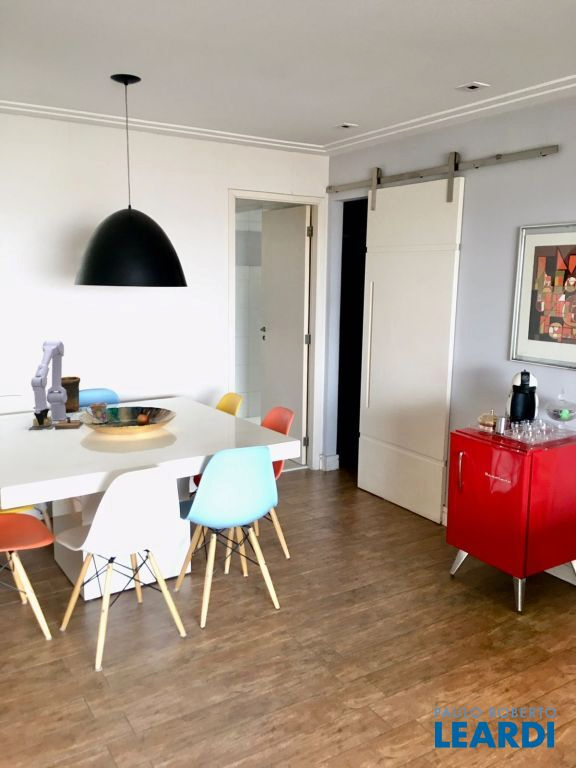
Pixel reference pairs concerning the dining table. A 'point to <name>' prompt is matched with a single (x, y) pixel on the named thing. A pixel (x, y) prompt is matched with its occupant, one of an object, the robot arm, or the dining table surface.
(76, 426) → the peg stand
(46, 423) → the u link
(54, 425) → the mat
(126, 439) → the dining table surface
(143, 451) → the dining table surface
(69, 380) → the vessel
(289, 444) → the dining table surface
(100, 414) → the mug
